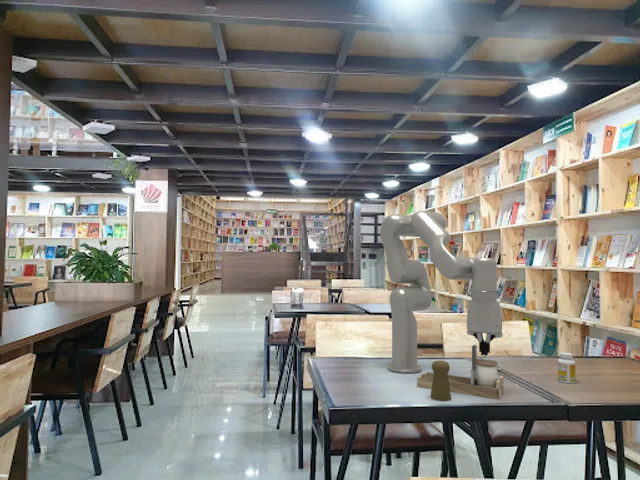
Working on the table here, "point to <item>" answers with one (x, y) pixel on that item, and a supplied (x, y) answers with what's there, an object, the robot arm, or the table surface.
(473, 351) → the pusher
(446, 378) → the olive brown waisted cylinder
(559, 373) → the supplement bottle
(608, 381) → the table surface
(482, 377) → the jar
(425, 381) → the wooden tray
